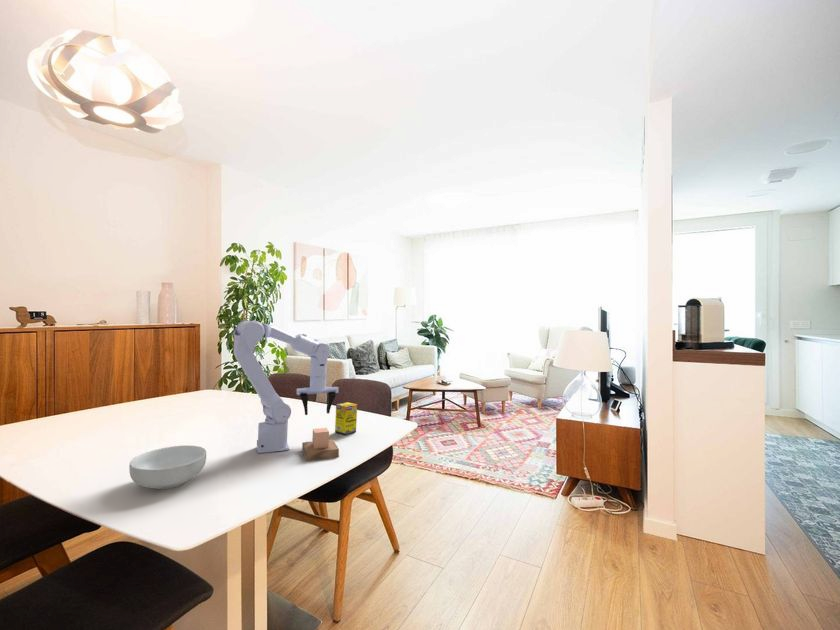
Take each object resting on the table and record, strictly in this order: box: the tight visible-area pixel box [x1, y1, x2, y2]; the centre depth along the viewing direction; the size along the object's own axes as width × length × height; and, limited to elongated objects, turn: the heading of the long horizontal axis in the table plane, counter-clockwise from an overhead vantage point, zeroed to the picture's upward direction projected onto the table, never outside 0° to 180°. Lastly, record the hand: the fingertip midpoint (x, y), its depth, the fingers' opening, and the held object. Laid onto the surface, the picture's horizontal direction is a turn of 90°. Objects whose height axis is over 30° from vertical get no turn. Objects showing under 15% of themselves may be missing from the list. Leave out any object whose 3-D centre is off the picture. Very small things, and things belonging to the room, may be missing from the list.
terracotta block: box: [311, 427, 330, 449], centre depth 122 cm, size 4×4×5 cm
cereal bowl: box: [128, 445, 207, 490], centre depth 98 cm, size 17×17×7 cm
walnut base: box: [301, 439, 340, 462], centre depth 122 cm, size 10×10×2 cm
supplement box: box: [334, 401, 358, 436], centre depth 146 cm, size 6×6×11 cm
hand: (317, 413), depth 136 cm, fingers open, 7 cm apart
